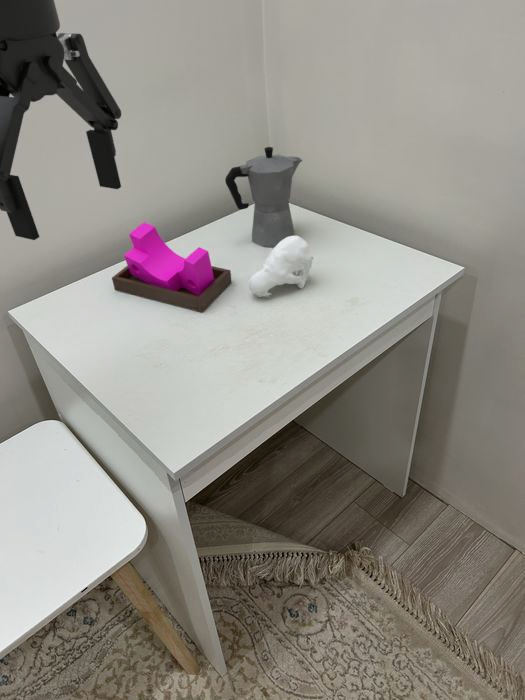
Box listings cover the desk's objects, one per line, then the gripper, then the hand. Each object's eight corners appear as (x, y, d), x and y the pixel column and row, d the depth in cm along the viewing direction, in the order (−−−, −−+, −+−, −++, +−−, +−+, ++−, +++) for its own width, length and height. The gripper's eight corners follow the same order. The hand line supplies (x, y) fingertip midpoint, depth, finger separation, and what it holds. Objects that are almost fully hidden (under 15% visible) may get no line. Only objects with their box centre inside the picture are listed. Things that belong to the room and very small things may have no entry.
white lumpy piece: (315, 239, 90) (257, 269, 86) (318, 281, 96) (264, 311, 92) (291, 226, 94) (235, 254, 90) (296, 267, 100) (243, 296, 96)
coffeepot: (292, 220, 116) (290, 133, 104) (312, 238, 109) (312, 148, 97) (224, 237, 111) (214, 148, 100) (241, 257, 105) (232, 165, 93)
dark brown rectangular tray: (114, 290, 98) (111, 277, 96) (147, 263, 105) (145, 251, 103) (202, 312, 91) (200, 299, 89) (231, 282, 98) (230, 269, 96)
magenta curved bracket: (130, 274, 99) (118, 242, 93) (154, 254, 102) (144, 222, 96) (191, 306, 92) (182, 273, 87) (215, 283, 95) (208, 251, 90)
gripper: (-94, 7, 38) (11, 269, 52) (126, -32, 55) (162, 173, 68) (-157, 7, 41) (-42, 255, 55) (70, -31, 58) (115, 166, 71)
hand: (72, 210), depth 62 cm, fingers open, 13 cm apart
